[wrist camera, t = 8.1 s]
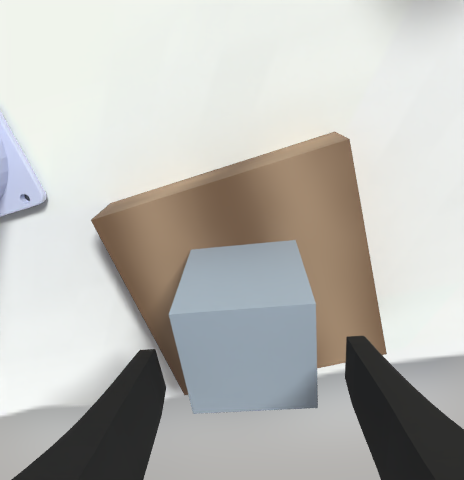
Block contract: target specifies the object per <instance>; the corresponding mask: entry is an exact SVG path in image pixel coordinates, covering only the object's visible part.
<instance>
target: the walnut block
mask: <svg viewBox="0 0 464 480" xmlns="http://www.w3.org/2000/svg"><path fill="white" fill-rule="evenodd" d="M91 221H92V223H93V225H94V227H95V229H96V231H97V232H98V234H99V236H100V238H101V240H102V242H103V244H104V245H105V247H106V249H107V251H108V253H109V255H110V257H111V259H112V260H113V262H114V264H115V266H116V268H117V270H118V272H119V273H120V275H121V277H122V279H123V281H124V283H125V285H126V287H127V288H128V290H129V292H130V294H131V296H132V298H133V300H134V301H135V303H136V305H137V307H138V309H139V311H140V313H141V315H142V316H143V318H144V320H145V322H146V324H147V326H148V328H149V329H150V331H151V333H152V335H153V337H154V339H155V341H156V343H157V344H158V346H159V348H160V350H161V352H162V354H163V356H164V357H165V359H166V361H167V363H168V365H169V367H170V369H171V371H172V372H173V374H174V376H175V378H176V380H177V382H178V384H179V385H180V387H181V389H182V391H183V393H184V395H188V390H187V386H186V382H185V378H184V374H183V370H182V366H181V362H180V358H179V354H178V350H177V346H176V342H175V338H174V334H173V330H172V326H171V322H170V318H169V312H170V309H171V306H172V303H173V301H174V298H175V295H176V292H177V289H178V286H179V283H180V280H181V277H182V274H183V271H184V268H185V265H186V263H187V260H188V257H189V254H190V251H191V250H192V249H203V248H214V247H225V246H235V245H246V244H257V243H268V242H278V241H289V240H296V243H297V246H298V249H299V252H300V255H301V259H302V262H303V265H304V268H305V271H306V274H307V277H308V281H309V284H310V287H311V290H312V293H313V296H314V299H315V303H316V340H317V368H321V367H326V366H330V365H335V364H340V363H345V362H346V337H349V336H365V337H366V338H367V339H368V340H369V341H370V342H371V344H372V345H373V346H374V347H375V348H376V349H377V350H378V351H379V352H380V353H381V355H384V354H387V353H386V348H385V342H384V336H383V330H382V324H381V319H380V313H379V307H378V301H377V296H376V290H375V284H374V278H373V272H372V267H371V261H370V255H369V249H368V244H367V238H366V232H365V226H364V220H363V215H362V209H361V203H360V197H359V192H358V186H357V180H356V174H355V168H354V163H353V157H352V151H351V145H350V139H348V138H346V137H344V136H342V135H340V134H338V133H336V132H332V133H329V134H326V135H323V136H320V137H317V138H314V139H310V140H307V141H304V142H301V143H298V144H295V145H292V146H289V147H285V148H282V149H279V150H276V151H273V152H270V153H267V154H263V155H260V156H257V157H254V158H251V159H248V160H245V161H242V162H238V163H235V164H232V165H229V166H226V167H223V168H220V169H216V170H213V171H210V172H207V173H204V174H201V175H198V176H194V177H191V178H188V179H185V180H182V181H179V182H176V183H173V184H169V185H166V186H163V187H160V188H157V189H154V190H151V191H147V192H144V193H141V194H138V195H135V196H132V197H129V198H126V199H122V200H119V201H116V202H113V203H110V204H109V205H108V206H107V207H106V208H105V209H103V210H102V211H101V212H100V213H99V214H98V215H96V216H95V217H94V218H93V219H92V220H91Z"/></svg>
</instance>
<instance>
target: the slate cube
mask: <svg viewBox="0 0 464 480" xmlns="http://www.w3.org/2000/svg"><path fill="white" fill-rule="evenodd" d="M169 318H170V322H171V326H172V330H173V334H174V338H175V342H176V346H177V350H178V354H179V358H180V362H181V366H182V370H183V374H184V378H185V382H186V386H187V390H188V394H189V398H190V402H191V407H192V410H193V413H194V414H196V413H217V412H238V411H260V410H279V409H280V410H281V409H302V408H317V407H318V398H317V397H318V396H317V340H316V303H315V299H314V296H313V293H312V290H311V287H310V284H309V281H308V277H307V274H306V271H305V268H304V265H303V262H302V259H301V255H300V252H299V249H298V246H297V243H296V240H289V241H278V242H268V243H257V244H246V245H235V246H225V247H214V248H203V249H192V250H191V251H190V254H189V257H188V260H187V263H186V265H185V268H184V271H183V274H182V277H181V280H180V283H179V286H178V289H177V292H176V295H175V298H174V301H173V303H172V306H171V309H170V312H169Z"/></svg>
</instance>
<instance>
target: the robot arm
mask: <svg viewBox="0 0 464 480" xmlns="http://www.w3.org/2000/svg"><path fill="white" fill-rule="evenodd" d="M25 194H26V195H28V196H29V198H30V201H28V200H27V199H26V198H25V196H24V195H25ZM46 197H47V195H46V192H45V190H44V188H43V186H42V185H41V183H40V181H39V179H38V177H37V176H36V174H35V172H34V170H33V168H32V167H31V165H30V163H29V161H28V159H27V158H26V156H25V154H24V152H23V150H22V149H21V147H20V145H19V143H18V141H17V140H16V138H15V136H14V134H13V132H12V131H11V129H10V127H9V125H8V123H7V121H6V120H5V118H4V116H3V114H2V112H1V111H0V217H1V216H4V215H8V214H11V213H14V212H17V211H20V210H24V209H27V208H30V207H33V206H37V205H39V204H41V203H43V202H45V200H46ZM345 379H346V383H347V387H348V391H349V394H350V398H351V402H352V405H353V408H354V410H355V413H356V415H357V418H358V421H359V424H360V426H361V429H362V431H363V434H364V436H365V439H366V442H367V444H368V447H369V449H370V452H371V454H372V457H373V460H374V462H375V465H376V467H377V469H378V472H379V475H380V478H381V480H464V429H462V428H461V427H460V426H458V425H457V424H456V423H455V422H453V421H452V420H451V419H450V418H448V417H447V416H446V415H445V414H444V413H442V412H441V411H440V410H439V409H438V408H436V407H435V406H434V405H433V404H432V403H431V402H430V401H428V400H427V399H426V398H425V397H424V396H423V395H422V394H421V393H420V392H418V391H417V390H416V389H415V388H414V387H413V386H412V385H411V384H410V383H409V382H408V381H407V380H406V379H405V378H404V377H403V376H402V375H401V374H400V373H399V372H398V371H397V370H396V369H395V368H394V367H393V366H392V365H391V364H390V363H389V362H388V361H387V360H386V359H385V358H384V357H383V356H382V355H381V353H380V352H379V351H378V350H377V349H376V348H375V347H374V346H373V345H372V344H371V342H370V341H369V340H368V339H367V338H366V337H365V336H349V337H346V366H345ZM165 391H166V386H165V382H164V379H163V375H162V372H161V368H160V364H159V361H158V357H157V354H156V350H155V349H150V350H140V351H139V352H138V353H137V354H136V355H135V357H134V358H133V359H132V360H131V361H130V363H129V364H128V365H127V366H126V367H125V369H124V370H123V371H122V372H121V374H120V375H119V376H118V377H117V378H116V380H115V381H114V382H113V383H112V384H111V385H110V387H109V388H108V389H107V390H106V391H105V392H104V394H103V395H102V396H101V397H100V398H99V399H98V400H97V402H96V403H95V404H94V405H93V406H92V407H91V408H90V409H89V410H88V411H87V413H85V415H84V416H83V417H82V418H81V419H80V420H79V421H78V422H77V423H76V424H75V425H74V426H73V427H72V428H71V429H70V430H69V431H68V432H67V433H66V434H65V435H63V436H62V437H61V438H60V439H59V440H58V441H57V442H56V443H55V444H54V445H53V446H52V447H50V448H49V449H48V450H47V451H46V452H45V453H44V454H42V455H41V456H40V457H39V458H37V459H36V460H35V461H34V462H33V463H32V464H30V465H29V466H28V467H27V468H26V469H24V470H23V471H22V472H21V473H19V474H18V475H17V476H16V477H14V478H13V479H12V480H143V479H144V475H145V471H146V468H147V465H148V461H149V458H150V454H151V451H152V447H153V444H154V440H155V436H156V433H157V430H158V426H159V423H160V419H161V415H162V409H163V404H164V397H165Z"/></svg>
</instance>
